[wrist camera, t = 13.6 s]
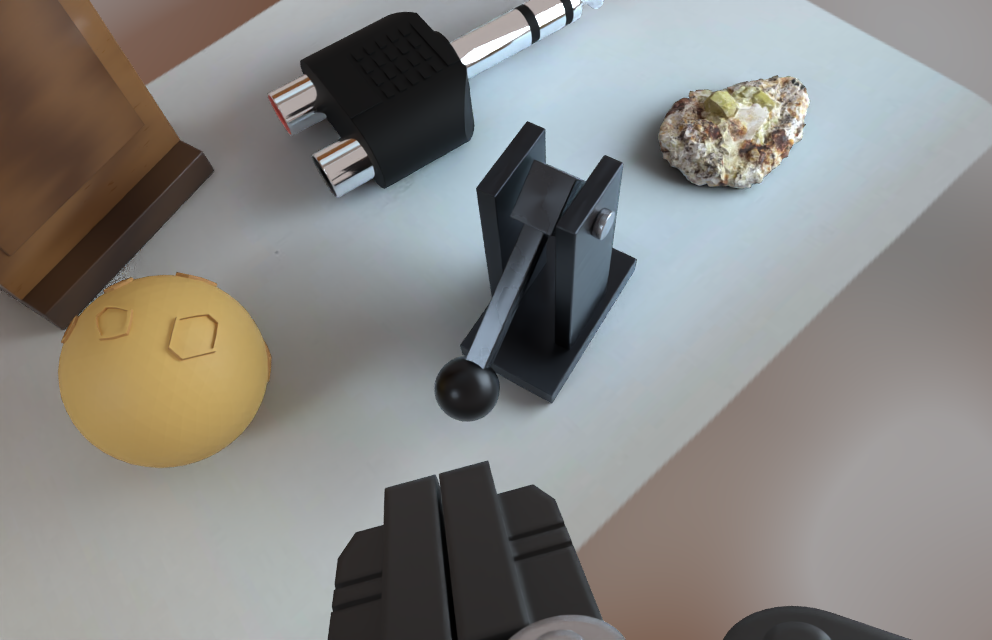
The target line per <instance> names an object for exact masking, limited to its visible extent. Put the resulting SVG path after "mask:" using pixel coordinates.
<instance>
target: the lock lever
mask: <svg viewBox="0 0 992 640" xmlns="http://www.w3.org/2000/svg"><path fill="white" fill-rule="evenodd" d="M585 182H586V181H584V180H582V179H580V178H578V177H575V176H573V175H571V174H569V173H566V172H564V171H562V170H560V169H557V168H555V167H553V166H551V165H548V164H545V163H543V162H540V161H538V160H534V161H533V163H532V165H531V168H530V170H529V172H528V175H527V177H526V179H525V182H524V184H523V186H522V189H521V191H520V193H519V196H518V198H517V200H516V203H515V205H514V207H513V210H512V212H511V214H510V217H511V218H513V219H515V220H517V221H519V222H521V223H524V225H523V227H522V230H521V232H520V234H519V237H518V239H517V241H516V244H515V246H514V248H513V251H512V253H511V255H510V257H509V260H508V262H507V264H506V267H505V269H504V271H503V274H502V276H501V278H500V280H499V283H498V285H497V287H496V290H495V292H494V294H493V297H492V299H491V301H490V303H489V306H488V308H487V310H486V313H485V315H484V317H483V320H482V322H481V324H480V326H479V329H478V331H477V333H476V336H475V338H474V340H473V343H472V345H471V347H470V349H469V352H468V354H467V356H463V357H458V358H455V359H453V360H451V361H449V362H448V363H447V364H445V365H444V366H443V367H442V369H441V370H440V371H439V373H438V375H437V378H436V381H435V397H436V400H437V403H438V405H439V406H440V408H441V409H442V410H443V411H444V412H445V413H446V414H447V415H448V416H450V417H451V418H453V419H456V420H459V421H475V420H478V419H481V418H483V417H484V416H486V415H487V414H488V413H489V412H490V411H491V410H492V409H493V408H494V406H495V405H496V403H497V400H498V397H499V391H500V385H499V380H498V377H497V375H496V373H495V371H494V370H493V368H492V367H491V366H492V364H493V362H494V360H495V357H496V355H497V353H498V351H499V348H500V346H501V344H502V342H503V339H504V337H505V335H506V333H507V330H508V328H509V326H510V324H511V321H512V319H513V317H514V315H515V312H516V310H517V308H518V306H519V303H520V301H521V299H522V297H523V294H524V292H525V290H526V288H527V285H528V283H529V281H530V279H531V276H532V274H533V272H534V270H535V267H536V265H537V263H538V261H539V258H540V256H541V254H542V252H543V249H544V247H545V245H546V243H547V240H548V238H549V236H554V237H556V224H557V223H558V221H559V220H560V218H561V217H562V216H563V214H564V213H565V211H566V210H567V208H568V207H569V205H570V204H571V202H572V201H573V200H574V198H575V197H576V195H577V194H578V192H579V191H580V189H581V188H582V187H583V185H584V184H585Z"/></svg>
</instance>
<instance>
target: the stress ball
mask: <svg viewBox="0 0 992 640" xmlns="http://www.w3.org/2000/svg"><path fill="white" fill-rule="evenodd" d="M103 291H104V294H103V295H101V296H100V297H98V298H97V299H96V300H95V301H93V302H92V303H91V304H90V305H89V306H88V307H87V308H86V309H85V310H84V311H83V312H82V313H81V315H80V316H77V315H76V316H75V317H74V319H73V320H72V321H71V323H70V325H69V326H68V328H67V330H66V332H65V334H64V336H63V338H62V341H61V343H64V344H63V347H62V351H61V355H60V359H59V369H58V377H59V387H60V393H61V398H62V401H63V403H64V406H65V409H66V411H67V413H68V415H69V417H70V418H71V420H72V422H73V424H74V425H75V426H76V428H77V429H78V430H79V431H80V433H81V434H82V435H83V436H84V437H85V438H86V439H87V440H88V441H89V442H90V443H92V444H93V445H94V446H95V447H97V448H98V449H100V450H101V451H102V452H104V453H106V454H108V455H110V456H112V457H114V458H116V459H119V460H121V461H124V462H127V463H130V464H134V465H139V466H145V467H155V468H166V467H177V466H183V465H187V464H191V463H195V462H198V461H200V460H203V459H205V458H208V457H210V456H212V455H214V454H215V453H217V452H219V451H221V450H222V449H224V448H225V447H226V446H228V445H229V444H231V443H232V442H233V441H234V440H235V439H236V438H237V437H238V436H239V435H241V434H242V432H243V431H244V430H245V429H246V428H247V426H248V425H249V424H250V423H251V421H252V420H253V418H254V416H255V415H256V413H257V411H258V409H259V407H260V405H261V403H262V400H263V397H264V394H265V390H266V385H267V382H269V379H270V372H271V358H272V357H271V354H270V352H269V349H268V346H267V345H266V343H265V341H264V339H263V338H262V336H261V333H260V331H259V329H258V327H257V325H256V324H255V322H254V320H253V319H252V317H251V316H250V315H249V313H248V312H247V311H246V310H245V309H244V308H243V307H242V306H241V305H240V303H239V302H238V301H236V300H235V299H234V298H232V297H231V296H230V295H229V294H227V293H225V292H224V291H222V290H220V289H219V288H217V283H214V282H212V281H209V280H207V279H204V278H201V277H197V276H193V275H188V274H183V273H178V272H176V276H174V275H158V276H148V277H143V278H139V279H135V280H133V278H132V277H131V278H128V279H125V280H122V281H120V282H118V283H116V284H114V285H112V286H110V287H108V288H106V289H105V290H103Z"/></svg>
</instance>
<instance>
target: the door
mask: <svg viewBox="0 0 992 640" xmlns="http://www.w3.org/2000/svg"><path fill="white" fill-rule="evenodd" d="M213 172H214V169H213V167H212V166H211V164H210V163H209V161H208V159H207V158H206V156H205V155H204V153H203V152H202V151H200V150H198V149H196V148H194V147H192V146H191V145H189V144H187V143H185V142H183V141H181V140H180V139H179V137H178V135H177V134H176V132H175V131H174V129H173V128H172V126H171V125H170V123H169V122H168V120H167V119H166V117H165V116H164V114H163V112H162V111H161V109H160V108H159V106H158V105H157V103H156V102H155V100H154V99H153V97H152V96H151V94H150V93H149V91H148V89H147V88H146V86H145V85H144V83H143V82H142V80H141V79H140V77H139V76H138V74H137V73H136V71H135V70H134V68H133V66H132V65H131V63H130V62H129V60H128V59H127V57H126V56H125V54H124V53H123V51H122V50H121V48H120V47H119V45H118V43H117V42H116V40H115V39H114V37H113V36H112V34H111V33H110V31H109V30H108V28H107V27H106V25H105V24H104V22H103V21H102V19H101V17H100V16H99V14H98V13H97V11H96V10H95V8H94V7H93V5H92V4H91V2H90V1H89V0H0V289H1V290H3V291H4V292H6V293H7V294H9V295H10V296H12V297H13V298H15V299H16V300H18V301H19V302H21V303H22V304H24V305H25V306H27V307H28V308H30V309H31V310H33V311H34V312H36V313H37V314H39V315H40V316H42V317H44V318H45V319H47V320H48V321H50V322H51V323H53V324H54V325H56V326H57V327H59V328H60V329H62V330H64V329H65V328H66V327H67V326H68V325H69V324H70V323H71V321H72V320H73V319H74V317H75V316H76V315H78V314H79V313H80V312H81V311H82V310H83V309H84V308H85V307H86V306H87V305H88V304H89V303H90V302H91V301H92V300H93V298H94V297H95V296H96V295H97V294H98V293H99V292H100V291H101V290H102V289H103V288H104V287H105V286H106V285H107V284H108V283H109V282H110V280H111V279H112V278H113V277H114V276H115V275H116V274H117V273H118V272H119V271H120V270H121V269H122V268H123V267H124V266H125V265H126V264H127V263H128V261H129V260H130V259H131V258H132V257H133V256H134V255H135V254H136V253H137V252H138V251H139V250H140V249H141V248H142V247H143V246H144V245H145V243H146V242H147V241H148V240H149V239H150V238H151V237H152V236H153V235H154V234H155V233H156V232H157V231H158V230H159V229H160V228H161V227H162V225H163V224H164V223H165V222H166V221H167V220H168V219H169V218H170V217H171V216H172V215H173V214H174V213H175V212H176V211H177V210H178V209H179V208H180V206H181V205H182V204H183V203H184V202H185V201H186V200H187V199H188V198H189V197H190V196H191V195H192V194H193V193H194V192H195V191H196V190H197V188H198V187H199V186H200V185H201V184H202V183H203V182H204V181H205V180H206V179H207V178H208V177H209V176H210V175H211V174H212V173H213Z"/></svg>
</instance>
